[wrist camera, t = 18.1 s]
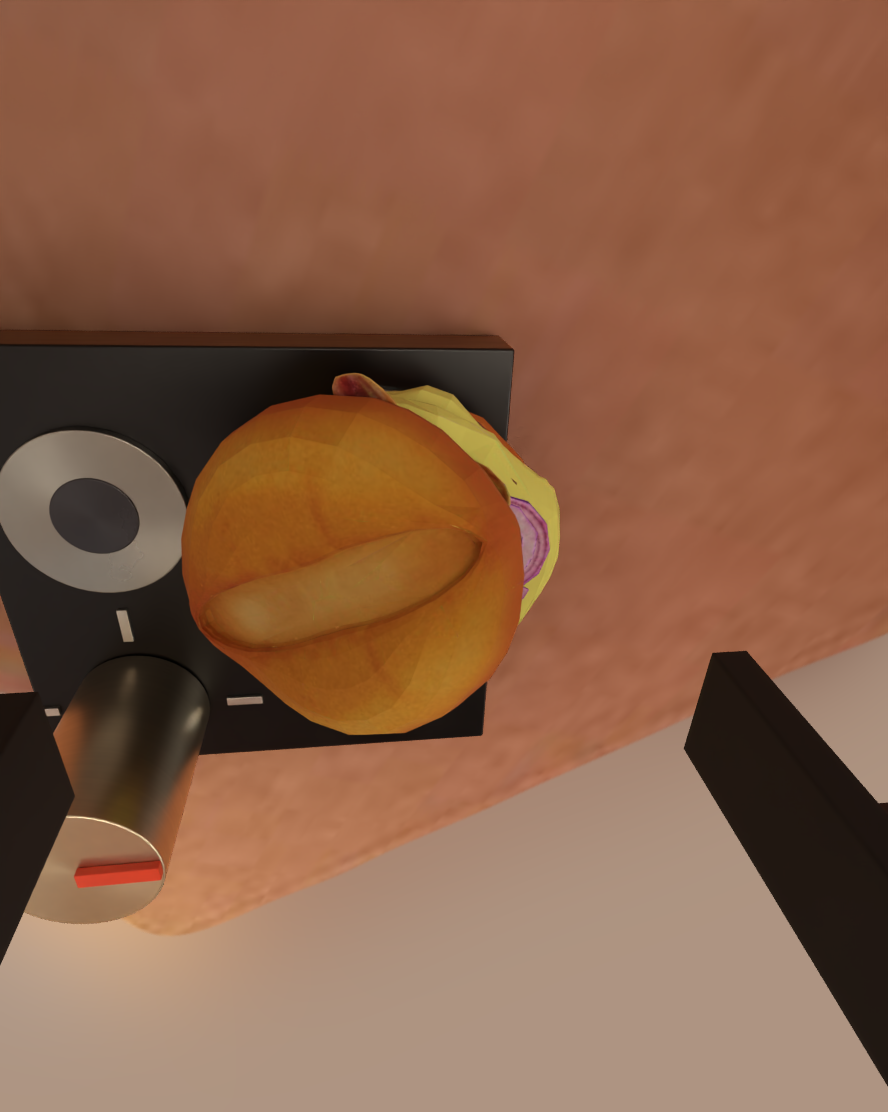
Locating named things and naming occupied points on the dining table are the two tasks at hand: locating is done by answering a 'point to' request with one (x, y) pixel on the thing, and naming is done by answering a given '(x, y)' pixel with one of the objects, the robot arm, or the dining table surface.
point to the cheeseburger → (367, 553)
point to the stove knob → (121, 788)
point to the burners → (93, 509)
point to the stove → (185, 447)
